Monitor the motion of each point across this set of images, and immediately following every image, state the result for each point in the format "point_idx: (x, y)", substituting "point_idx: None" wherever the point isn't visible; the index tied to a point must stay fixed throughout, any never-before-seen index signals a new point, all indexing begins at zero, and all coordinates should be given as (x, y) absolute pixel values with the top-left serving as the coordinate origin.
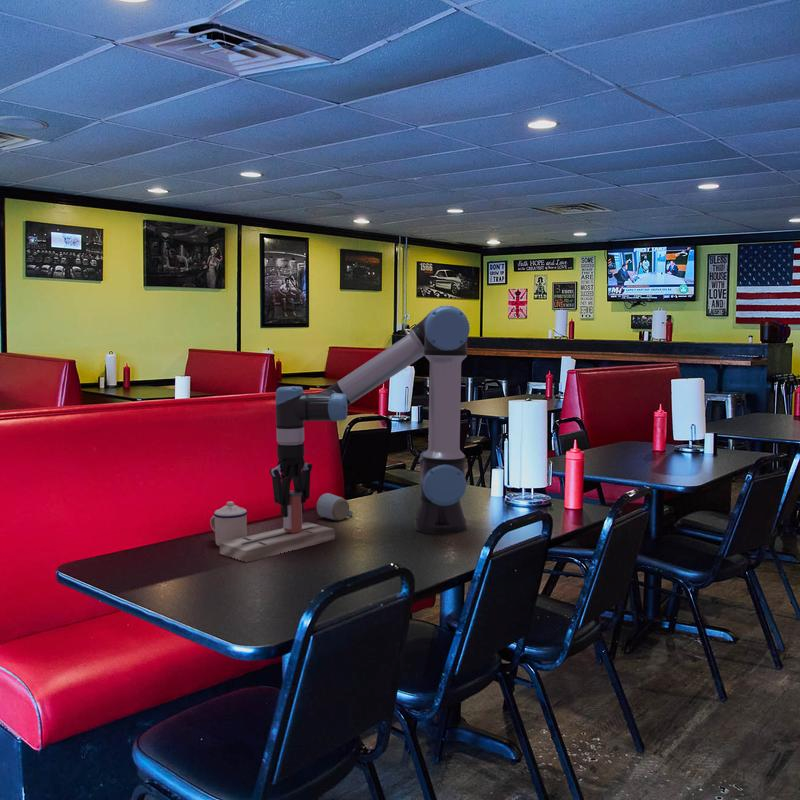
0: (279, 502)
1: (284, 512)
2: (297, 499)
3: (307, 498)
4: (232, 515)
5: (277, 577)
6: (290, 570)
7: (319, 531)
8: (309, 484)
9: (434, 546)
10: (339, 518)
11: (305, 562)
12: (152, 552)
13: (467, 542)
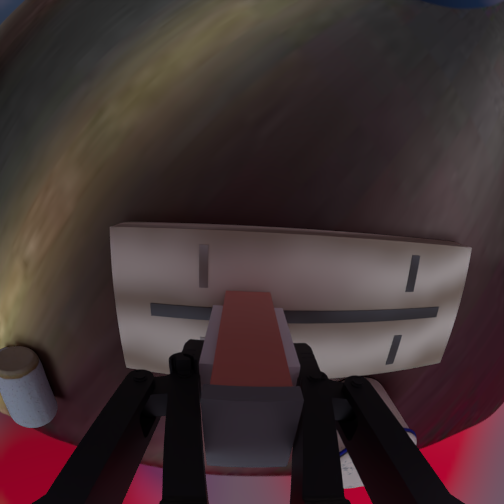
0: (369, 384)
1: (313, 356)
2: (244, 374)
3: (145, 372)
4: (408, 432)
5: (467, 97)
6: (432, 98)
7: (170, 244)
8: (94, 429)
9: (61, 6)
10: (30, 350)
11: (373, 103)
12: (443, 419)
13: (23, 9)
